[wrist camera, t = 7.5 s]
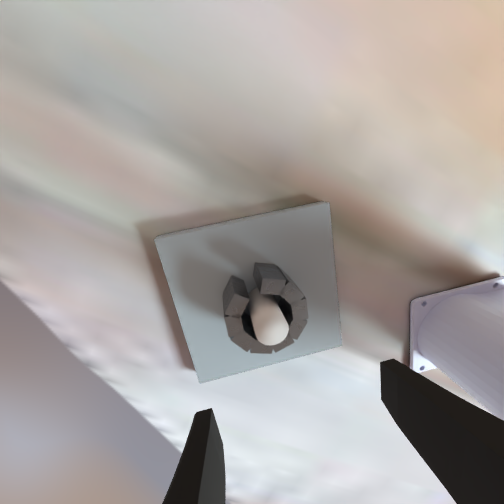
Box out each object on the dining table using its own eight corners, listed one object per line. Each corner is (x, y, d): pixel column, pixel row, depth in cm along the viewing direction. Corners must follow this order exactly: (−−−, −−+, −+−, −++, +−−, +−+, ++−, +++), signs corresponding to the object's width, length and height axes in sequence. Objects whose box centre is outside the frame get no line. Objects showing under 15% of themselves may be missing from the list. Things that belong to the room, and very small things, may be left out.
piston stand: (322, 201, 18) (362, 208, 13) (335, 337, 22) (371, 383, 17) (157, 235, 17) (135, 258, 12) (200, 372, 21) (196, 432, 16)
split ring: (288, 254, 18) (303, 269, 15) (297, 319, 19) (311, 343, 16) (216, 270, 17) (217, 288, 14) (231, 335, 19) (234, 363, 16)
